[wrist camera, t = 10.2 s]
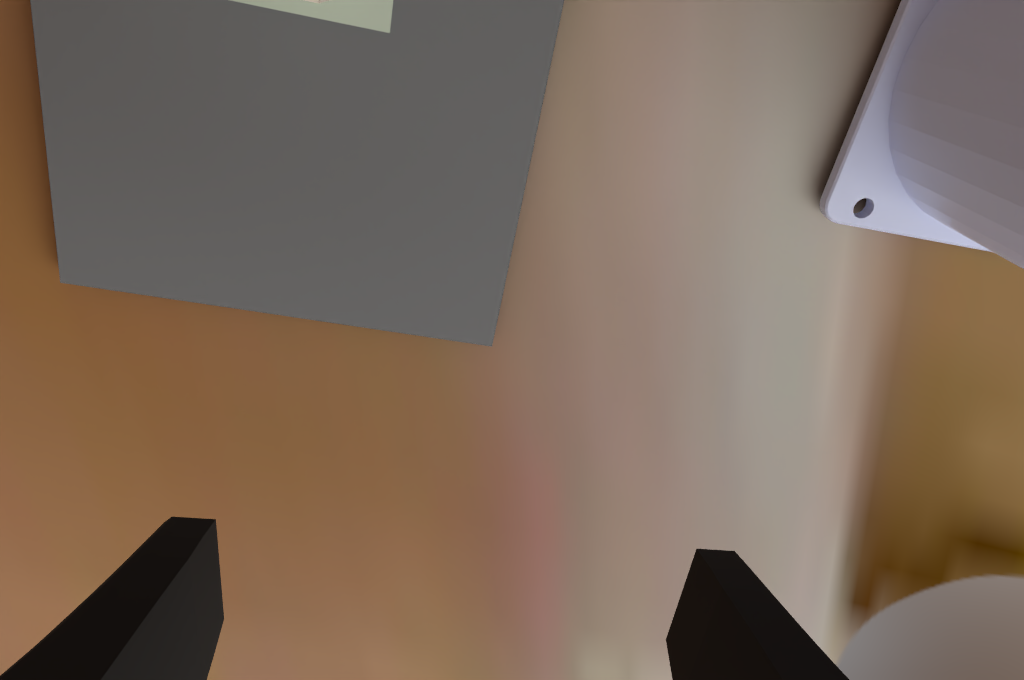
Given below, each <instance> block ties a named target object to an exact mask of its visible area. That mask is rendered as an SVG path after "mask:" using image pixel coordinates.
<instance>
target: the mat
mask: <svg viewBox="0 0 1024 680" xmlns="http://www.w3.org/2000/svg"><path fill="white" fill-rule="evenodd" d="M30 2H31V11H32V21H33V30H34V39H35V49H36V58H37V68H38V77H39V86H40V96H41V105H42V115H43V124H44V133H45V143H46V152H47V162H48V171H49V180H50V190H51V199H52V209H53V218H54V227H55V237H56V246H57V256H58V265H59V274H60V283H67V284H74V285H80V286H87V287H94V288H101V289H107V290H114V291H121V292H128V293H134V294H141V295H148V296H155V297H161V298H168V299H175V300H182V301H188V302H195V303H202V304H209V305H215V306H222V307H229V308H236V309H242V310H249V311H256V312H263V313H270V314H276V315H283V316H290V317H297V318H303V319H310V320H317V321H324V322H330V323H337V324H344V325H351V326H357V327H364V328H371V329H378V330H384V331H391V332H398V333H405V334H411V335H418V336H425V337H432V338H438V339H445V340H452V341H459V342H465V343H472V344H479V345H486V346H492V343H493V339H494V334H495V329H496V324H497V319H498V315H499V310H500V305H501V300H502V296H503V291H504V286H505V281H506V276H507V272H508V267H509V262H510V257H511V252H512V248H513V243H514V238H515V233H516V228H517V224H518V219H519V214H520V209H521V204H522V200H523V195H524V190H525V185H526V180H527V176H528V171H529V166H530V161H531V156H532V152H533V147H534V142H535V137H536V132H537V128H538V123H539V118H540V113H541V109H542V104H543V99H544V94H545V89H546V85H547V80H548V75H549V70H550V65H551V61H552V56H553V51H554V46H555V41H556V37H557V32H558V27H559V22H560V17H561V13H562V8H563V3H564V0H329V1H325V2H322V3H314V2H309V1H305V0H30Z"/></svg>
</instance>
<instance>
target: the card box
mask: <svg viewBox="0 0 1024 680" xmlns="http://www.w3.org/2000/svg"><path fill="white" fill-rule="evenodd" d="M305 1H309V2H314V3H322V2H325V1H329V0H305Z"/></svg>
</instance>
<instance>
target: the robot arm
mask: <svg viewBox="0 0 1024 680" xmlns="http://www.w3.org/2000/svg"><path fill="white" fill-rule="evenodd" d="M863 198H866V206H865V207H864V208H863V210H862V211H860V212H858V213H853V209H854V206H855V204H856V203H857V202H858V201H859V200H861V199H863ZM820 210H821V212H822V214H823V215H824V216H825V217H826V218H828V219H829V220H830V221H833V222H835V223H839V224H844V225H849V226H855V227H860V228H866V229H871V230H876V231H882V232H887V233H893V234H898V235H904V236H909V237H914V238H920V239H925V240H931V241H936V242H942V243H947V244H952V245H958V246H963V247H969V248H974V249H979V250H985V251H990V252H994V253H996V254H998V255H999V256H1001V257H1003V258H1005V259H1007V260H1008V261H1010V262H1012V263H1014V264H1016V265H1017V266H1019V267H1021V268H1023V269H1024V0H901V2H900V5H899V7H898V10H897V12H896V15H895V17H894V19H893V22H892V24H891V27H890V29H889V32H888V34H887V37H886V39H885V42H884V44H883V46H882V49H881V51H880V54H879V56H878V59H877V61H876V64H875V66H874V69H873V71H872V73H871V76H870V78H869V81H868V83H867V86H866V88H865V91H864V93H863V96H862V98H861V100H860V103H859V105H858V108H857V110H856V113H855V115H854V118H853V120H852V123H851V125H850V127H849V130H848V132H847V135H846V137H845V140H844V142H843V145H842V147H841V150H840V152H839V154H838V157H837V159H836V162H835V164H834V167H833V169H832V172H831V174H830V177H829V179H828V181H827V184H826V186H825V189H824V191H823V194H822V196H821V200H820ZM223 620H224V613H223V601H222V589H221V577H220V565H219V553H218V541H217V529H216V519H200V518H184V517H171V518H170V519H168V520H167V521H166V522H164V523H163V524H162V525H161V526H160V527H159V528H158V529H157V530H156V531H155V532H154V533H153V534H152V535H151V536H150V537H149V538H148V539H147V540H146V541H145V542H144V543H143V544H142V545H141V546H140V547H139V548H138V549H137V550H136V551H135V552H134V553H133V554H132V555H131V556H130V557H129V558H128V559H127V560H126V561H125V562H124V563H123V564H122V565H121V566H120V567H119V568H118V569H117V570H116V571H115V572H114V573H113V574H112V575H111V576H110V577H109V578H108V579H107V580H106V581H105V582H104V583H103V584H101V585H100V586H99V587H98V588H97V589H96V590H95V591H94V592H93V593H92V594H91V595H90V596H89V597H88V598H87V599H86V600H85V601H84V602H82V603H81V604H80V605H79V606H78V607H77V608H76V609H75V610H74V611H73V612H72V613H71V614H70V615H68V616H67V617H66V618H65V619H64V620H63V621H62V622H61V623H60V624H59V625H58V626H57V627H56V628H54V629H53V630H52V631H51V632H50V633H49V634H48V635H47V636H46V637H45V638H44V639H42V640H41V641H40V642H39V643H38V644H37V645H36V646H35V647H33V648H32V649H31V650H30V651H29V652H28V653H26V654H25V655H24V656H23V657H22V658H21V659H19V660H18V661H17V662H16V663H15V664H14V665H12V666H11V667H10V668H9V669H8V670H7V671H5V672H4V673H3V674H2V675H1V676H0V680H207V676H208V673H209V670H210V666H211V663H212V660H213V656H214V653H215V649H216V646H217V642H218V638H219V635H220V631H221V628H222V624H223ZM666 642H667V648H668V654H669V660H670V666H671V672H672V678H673V680H849V679H848V678H847V677H846V676H845V675H844V674H843V673H842V671H841V670H840V669H839V668H838V667H837V666H836V665H835V664H834V663H833V662H832V661H831V660H830V658H829V657H828V656H827V655H826V654H825V653H824V652H823V651H822V650H821V649H820V647H819V646H818V645H817V644H816V643H815V642H814V641H813V640H812V639H811V637H810V636H809V635H808V634H807V633H806V632H805V631H804V630H803V629H802V627H801V626H800V625H799V624H798V623H797V622H796V621H795V619H794V618H793V617H792V616H791V615H790V614H789V613H788V611H787V610H786V609H785V608H784V607H783V606H782V605H781V603H780V602H779V601H778V600H777V599H776V598H775V597H774V595H773V594H772V593H771V592H770V591H769V590H768V589H767V587H766V586H765V585H764V584H763V583H762V582H761V580H760V579H759V578H758V577H757V576H756V575H755V574H754V572H753V571H752V570H751V569H750V568H749V567H748V566H747V565H746V563H745V562H744V561H743V560H742V559H741V558H740V557H739V556H738V555H737V553H736V552H735V551H724V550H707V549H696V552H695V555H694V558H693V561H692V564H691V567H690V570H689V573H688V576H687V579H686V582H685V585H684V588H683V591H682V594H681V597H680V600H679V603H678V606H677V609H676V611H675V614H674V617H673V620H672V623H671V626H670V629H669V632H668V635H667V638H666Z"/></svg>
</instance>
